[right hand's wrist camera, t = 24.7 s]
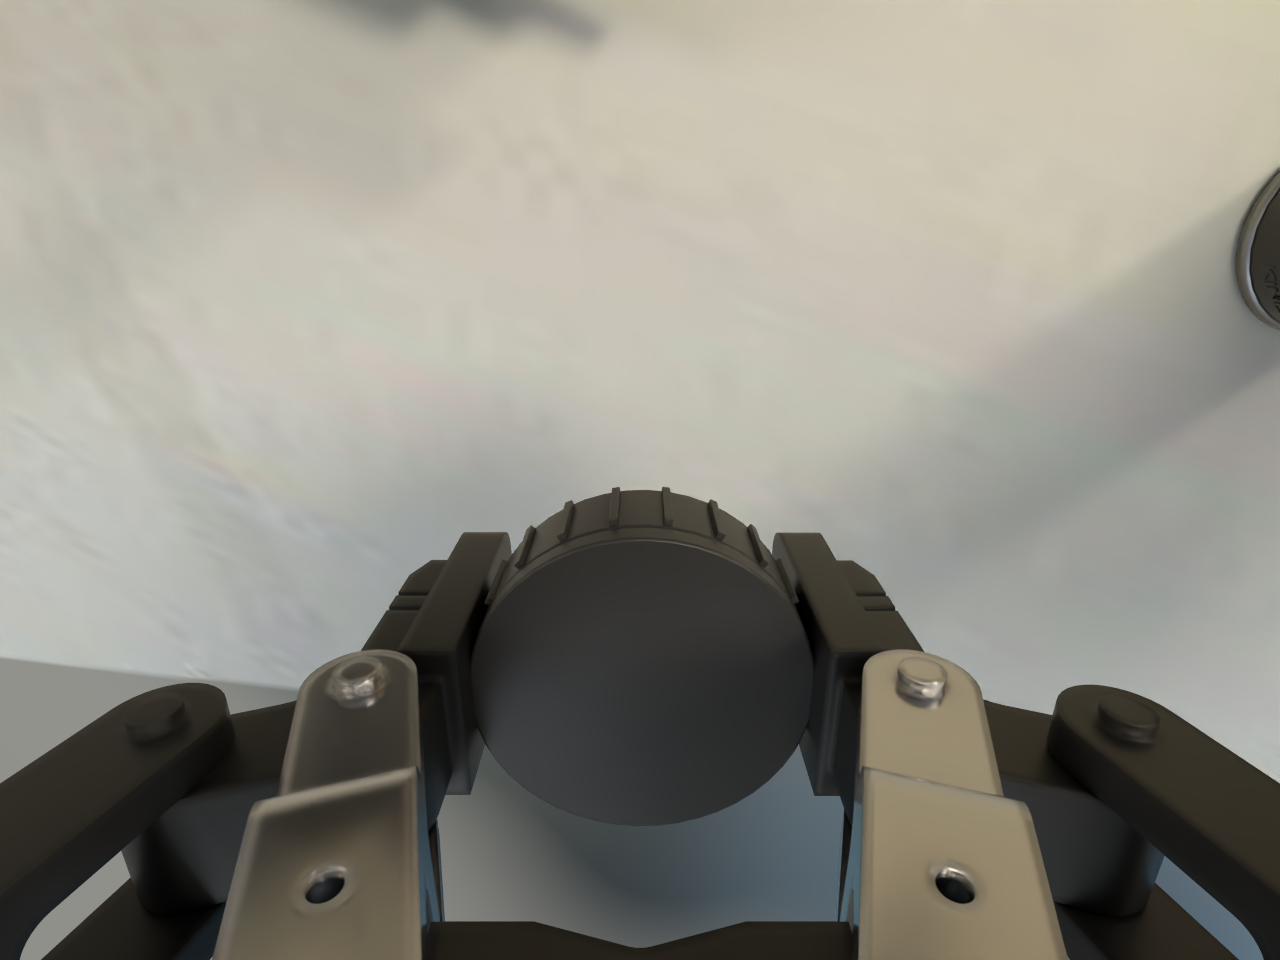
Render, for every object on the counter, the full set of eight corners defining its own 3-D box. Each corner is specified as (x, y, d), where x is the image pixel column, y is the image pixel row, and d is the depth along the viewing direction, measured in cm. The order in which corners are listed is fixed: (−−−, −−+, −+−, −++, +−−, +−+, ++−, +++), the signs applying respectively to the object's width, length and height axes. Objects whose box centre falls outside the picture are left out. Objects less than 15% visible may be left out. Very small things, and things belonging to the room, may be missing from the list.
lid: (735, 776, 12) (749, 860, 10) (459, 710, 11) (430, 789, 10) (843, 534, 10) (881, 590, 9) (528, 444, 10) (505, 488, 8)
